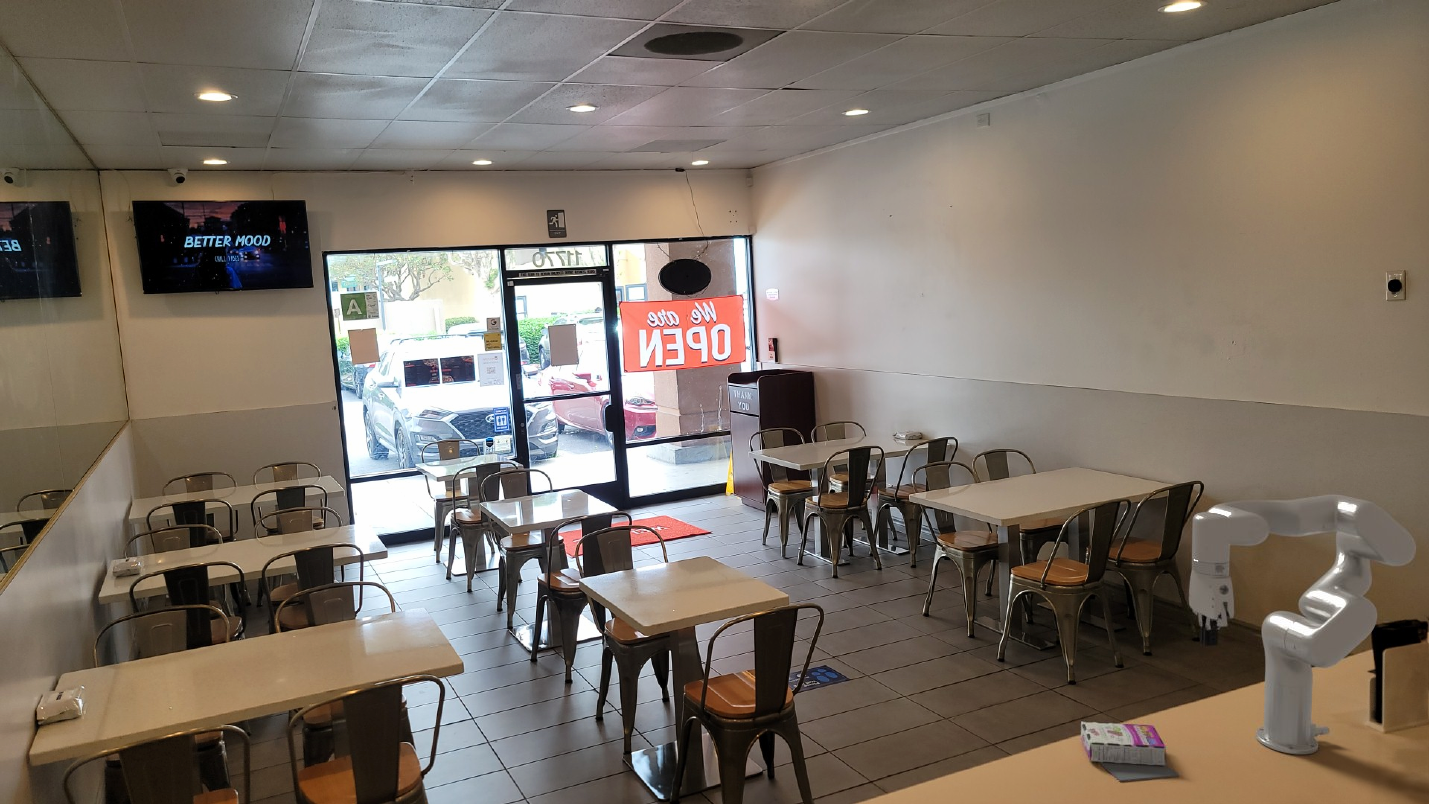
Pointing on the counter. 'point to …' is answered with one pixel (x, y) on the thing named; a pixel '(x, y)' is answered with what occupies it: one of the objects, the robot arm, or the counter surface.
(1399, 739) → the counter surface
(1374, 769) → the counter surface
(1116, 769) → the rubber mat
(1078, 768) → the counter surface
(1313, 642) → the robot arm
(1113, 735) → the candy bar box
